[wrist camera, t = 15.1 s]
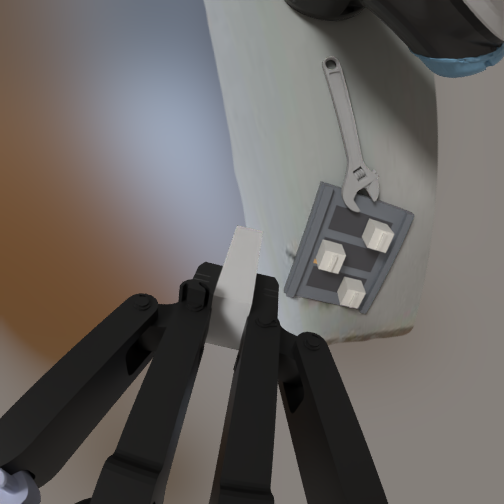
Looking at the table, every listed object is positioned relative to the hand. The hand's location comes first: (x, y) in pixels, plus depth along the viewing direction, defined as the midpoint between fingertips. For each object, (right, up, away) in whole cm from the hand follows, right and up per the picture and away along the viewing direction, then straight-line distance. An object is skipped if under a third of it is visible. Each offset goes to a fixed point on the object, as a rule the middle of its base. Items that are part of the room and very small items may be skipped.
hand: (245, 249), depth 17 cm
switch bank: (+18, 0, +35) cm, 39 cm away
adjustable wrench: (+16, +18, +25) cm, 35 cm away
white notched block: (+21, +4, +31) cm, 38 cm away
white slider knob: (+14, 0, +33) cm, 36 cm away
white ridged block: (+19, -7, +36) cm, 41 cm away
